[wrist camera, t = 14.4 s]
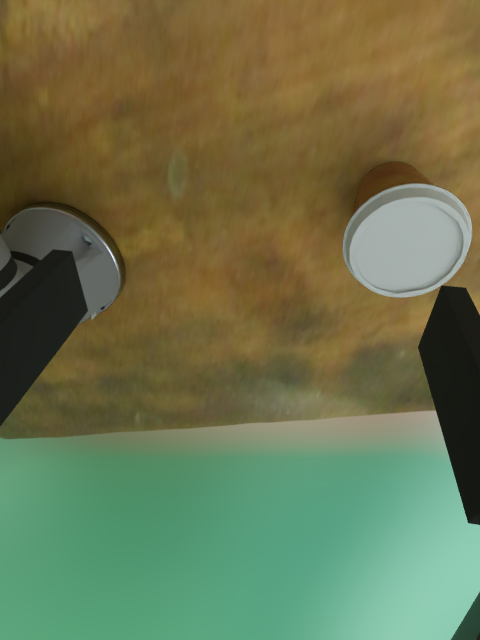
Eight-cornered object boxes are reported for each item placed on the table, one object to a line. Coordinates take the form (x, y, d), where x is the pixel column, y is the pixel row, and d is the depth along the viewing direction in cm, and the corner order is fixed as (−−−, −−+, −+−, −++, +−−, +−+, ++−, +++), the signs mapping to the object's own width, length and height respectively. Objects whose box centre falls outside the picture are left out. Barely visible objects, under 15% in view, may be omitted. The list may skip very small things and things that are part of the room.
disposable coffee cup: (327, 224, 43) (326, 284, 34) (362, 131, 37) (372, 174, 28) (413, 248, 43) (435, 315, 34) (462, 158, 37) (505, 210, 28)
